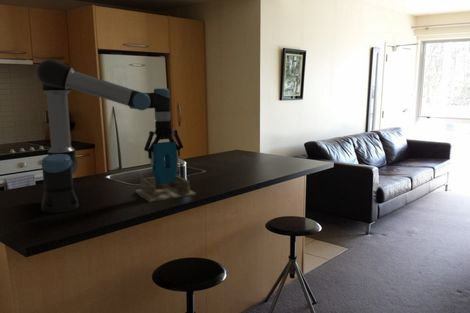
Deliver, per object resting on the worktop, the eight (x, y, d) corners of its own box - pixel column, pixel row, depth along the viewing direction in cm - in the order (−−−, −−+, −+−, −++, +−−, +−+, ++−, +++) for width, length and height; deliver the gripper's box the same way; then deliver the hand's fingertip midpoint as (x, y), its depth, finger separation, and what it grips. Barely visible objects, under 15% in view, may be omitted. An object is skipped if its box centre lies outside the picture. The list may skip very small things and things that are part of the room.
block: (157, 185, 195) (156, 144, 191) (152, 183, 198) (150, 143, 195) (178, 181, 203) (176, 142, 199) (172, 179, 206) (171, 141, 203)
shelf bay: (149, 201, 186) (148, 187, 185) (135, 192, 205) (134, 178, 204) (196, 194, 198) (195, 181, 197) (178, 186, 217) (178, 173, 216)
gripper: (140, 122, 186) (143, 167, 190) (189, 119, 198) (190, 162, 202) (136, 121, 193) (138, 165, 196) (182, 118, 205) (184, 160, 208)
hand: (164, 163), depth 199 cm, fingers closed on block, 12 cm apart
